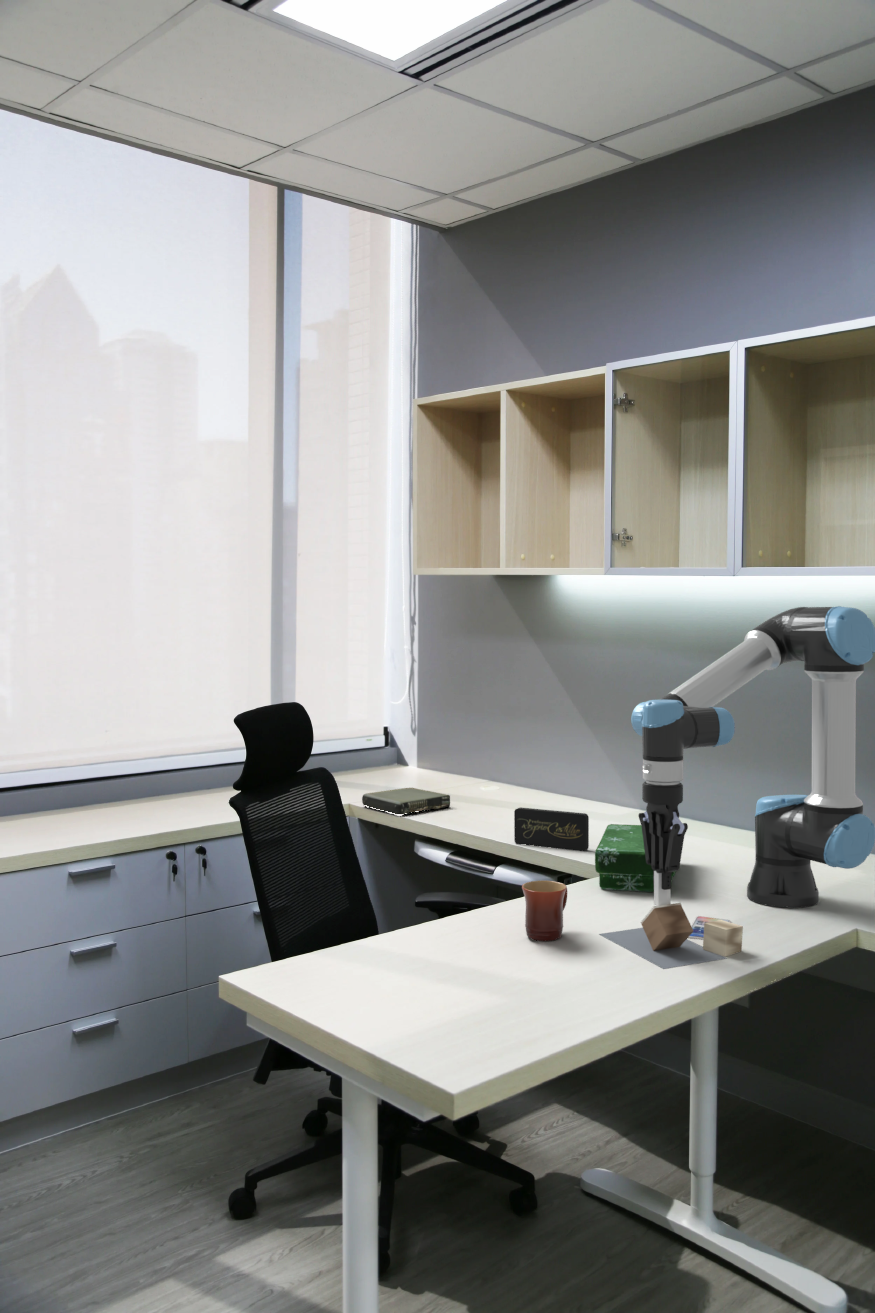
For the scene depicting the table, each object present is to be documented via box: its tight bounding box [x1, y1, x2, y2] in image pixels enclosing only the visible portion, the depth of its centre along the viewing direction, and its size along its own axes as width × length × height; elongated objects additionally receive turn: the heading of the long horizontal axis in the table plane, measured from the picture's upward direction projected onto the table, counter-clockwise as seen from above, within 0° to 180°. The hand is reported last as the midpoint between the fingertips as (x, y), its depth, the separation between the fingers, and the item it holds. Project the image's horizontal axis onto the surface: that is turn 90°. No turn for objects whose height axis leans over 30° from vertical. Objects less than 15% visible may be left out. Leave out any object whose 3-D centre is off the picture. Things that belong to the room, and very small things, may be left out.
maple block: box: [702, 920, 744, 957], centre depth 197 cm, size 5×5×5 cm
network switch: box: [361, 787, 451, 814], centre depth 343 cm, size 23×23×5 cm
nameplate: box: [513, 807, 590, 852], centre depth 285 cm, size 21×2×10 cm, turn 61°
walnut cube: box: [640, 902, 693, 951], centre depth 198 cm, size 6×6×6 cm
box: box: [594, 823, 676, 893], centre depth 254 cm, size 32×18×10 cm, turn 165°
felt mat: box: [598, 927, 728, 970], centre depth 200 cm, size 14×22×1 cm, turn 23°
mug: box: [521, 880, 568, 942], centre depth 208 cm, size 12×9×10 cm
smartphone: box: [687, 915, 732, 941], centre depth 211 cm, size 7×1×15 cm
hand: (662, 904), depth 200 cm, fingers closed
